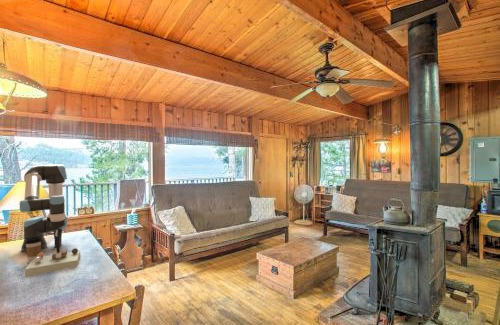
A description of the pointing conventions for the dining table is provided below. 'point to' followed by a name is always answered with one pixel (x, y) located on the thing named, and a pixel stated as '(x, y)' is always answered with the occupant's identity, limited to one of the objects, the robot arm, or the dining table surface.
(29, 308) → the dining table surface
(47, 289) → the dining table surface
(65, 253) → the cover
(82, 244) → the dining table surface
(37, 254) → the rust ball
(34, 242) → the coffee cup
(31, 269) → the deck
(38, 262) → the steel ball
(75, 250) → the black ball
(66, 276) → the dining table surface
